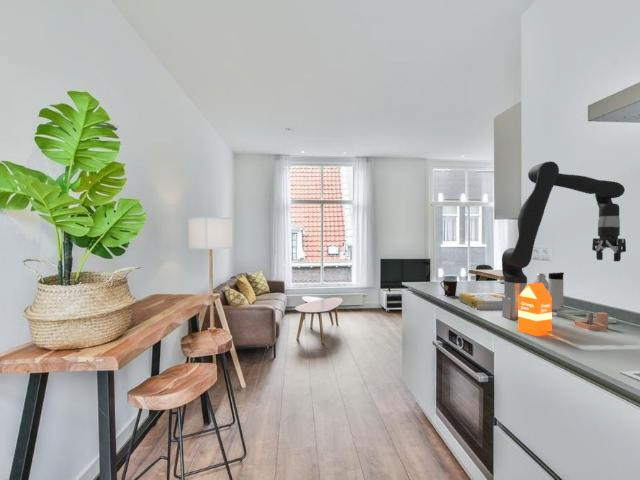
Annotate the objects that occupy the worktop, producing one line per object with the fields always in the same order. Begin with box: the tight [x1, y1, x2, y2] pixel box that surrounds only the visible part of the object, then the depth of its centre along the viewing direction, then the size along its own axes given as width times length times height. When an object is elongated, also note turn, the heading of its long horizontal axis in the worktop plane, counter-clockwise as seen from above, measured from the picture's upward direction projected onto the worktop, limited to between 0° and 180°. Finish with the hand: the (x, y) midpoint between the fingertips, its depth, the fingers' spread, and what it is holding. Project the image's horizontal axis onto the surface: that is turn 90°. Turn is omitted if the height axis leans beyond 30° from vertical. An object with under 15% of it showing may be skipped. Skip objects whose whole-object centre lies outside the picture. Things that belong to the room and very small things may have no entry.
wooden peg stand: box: [568, 312, 612, 332], centre depth 127 cm, size 10×10×7 cm
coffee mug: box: [440, 279, 458, 297], centre depth 204 cm, size 12×9×10 cm
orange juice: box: [517, 282, 553, 337], centre depth 125 cm, size 8×9×20 cm
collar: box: [573, 311, 609, 330], centre depth 127 cm, size 10×7×6 cm
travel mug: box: [547, 272, 565, 313], centre depth 160 cm, size 6×7×20 cm
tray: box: [556, 310, 617, 324], centre depth 140 cm, size 15×15×3 cm
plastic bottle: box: [533, 273, 549, 291], centre depth 154 cm, size 6×7×20 cm
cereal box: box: [458, 292, 504, 310], centre depth 175 cm, size 20×6×28 cm
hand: (608, 260), depth 144 cm, fingers open, 8 cm apart
